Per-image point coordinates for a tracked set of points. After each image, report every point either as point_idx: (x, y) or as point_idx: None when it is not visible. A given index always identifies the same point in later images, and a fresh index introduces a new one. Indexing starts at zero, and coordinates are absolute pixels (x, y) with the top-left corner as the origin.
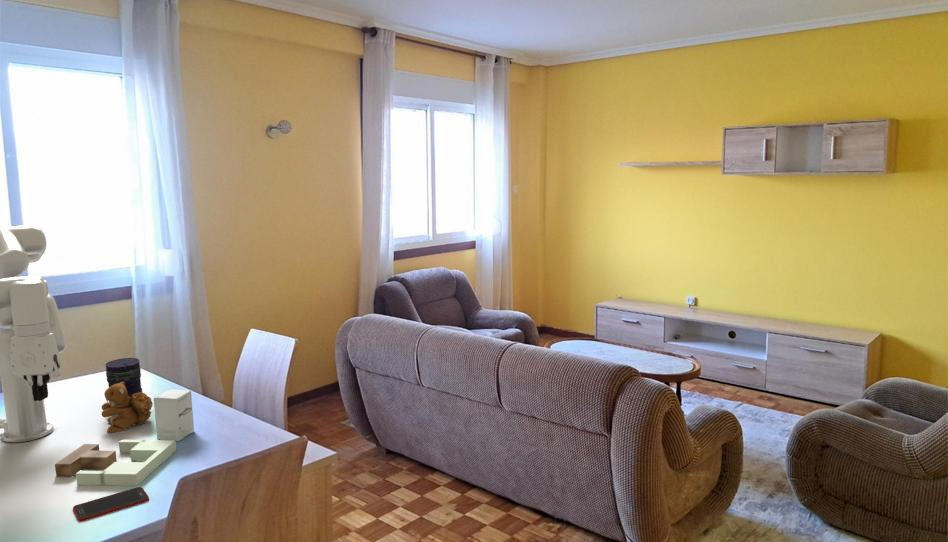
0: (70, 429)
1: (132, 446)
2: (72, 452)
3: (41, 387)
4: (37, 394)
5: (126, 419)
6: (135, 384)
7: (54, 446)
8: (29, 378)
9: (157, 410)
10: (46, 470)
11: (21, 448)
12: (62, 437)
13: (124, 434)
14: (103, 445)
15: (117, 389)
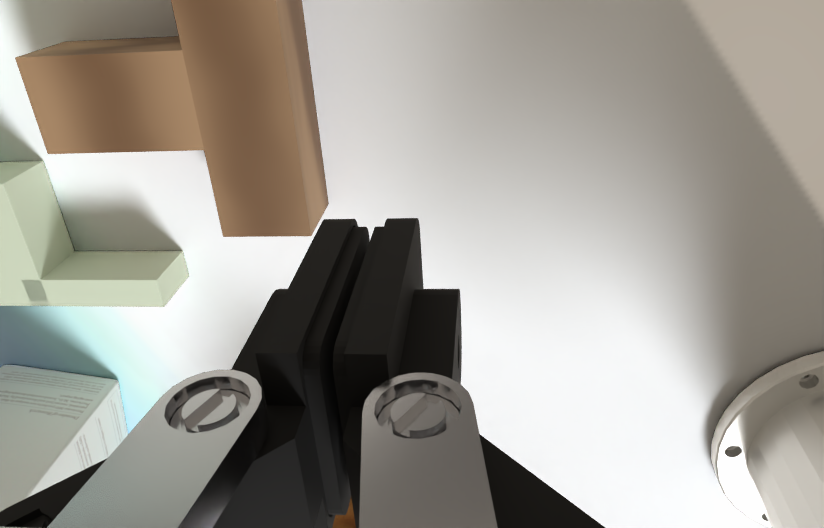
0: (630, 480)
1: (97, 266)
2: (287, 116)
3: (257, 373)
4: (325, 262)
5: (338, 517)
6: None
7: (588, 308)
8: (423, 510)
9: (5, 493)
10: (421, 12)
11: (772, 283)
12: (614, 403)
13: None
14: None
15: None
